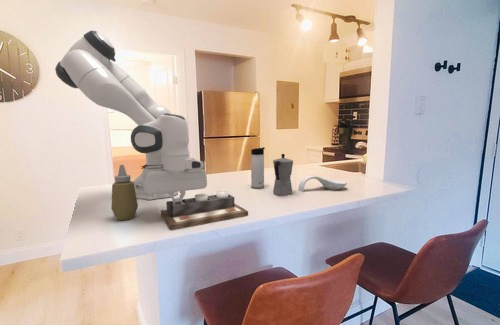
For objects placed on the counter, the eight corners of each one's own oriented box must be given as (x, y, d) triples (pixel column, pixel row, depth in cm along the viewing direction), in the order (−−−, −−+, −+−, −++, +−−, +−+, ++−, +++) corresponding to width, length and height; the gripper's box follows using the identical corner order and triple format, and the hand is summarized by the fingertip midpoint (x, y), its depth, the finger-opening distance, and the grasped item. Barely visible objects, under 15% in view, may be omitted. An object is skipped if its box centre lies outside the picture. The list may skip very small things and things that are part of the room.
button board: (170, 230, 78) (169, 213, 78) (160, 214, 92) (159, 200, 92) (248, 215, 91) (247, 201, 90) (228, 203, 105) (228, 191, 104)
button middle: (197, 206, 90) (196, 197, 90) (193, 202, 94) (193, 194, 94) (209, 204, 92) (209, 195, 92) (205, 201, 96) (205, 193, 96)
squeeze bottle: (111, 223, 84) (106, 167, 82) (113, 215, 92) (108, 164, 89) (138, 219, 88) (135, 165, 85) (138, 212, 95) (135, 162, 92)
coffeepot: (278, 189, 128) (278, 152, 125) (297, 191, 124) (297, 152, 121) (265, 197, 114) (265, 155, 112) (286, 199, 110) (286, 156, 108)
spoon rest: (336, 185, 136) (337, 171, 135) (351, 190, 125) (352, 175, 124) (294, 188, 130) (295, 174, 129) (306, 194, 118) (306, 179, 117)
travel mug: (263, 189, 128) (263, 148, 125) (250, 188, 129) (249, 147, 127) (265, 186, 134) (265, 146, 131) (252, 185, 135) (252, 146, 133)
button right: (219, 202, 94) (218, 194, 94) (214, 199, 98) (214, 191, 98) (230, 200, 96) (230, 192, 96) (225, 198, 100) (225, 190, 100)
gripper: (143, 167, 80) (145, 211, 82) (208, 162, 89) (209, 202, 91) (140, 164, 85) (143, 206, 87) (202, 160, 95) (203, 198, 97)
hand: (177, 204), depth 89 cm, fingers closed, pressing on button left
